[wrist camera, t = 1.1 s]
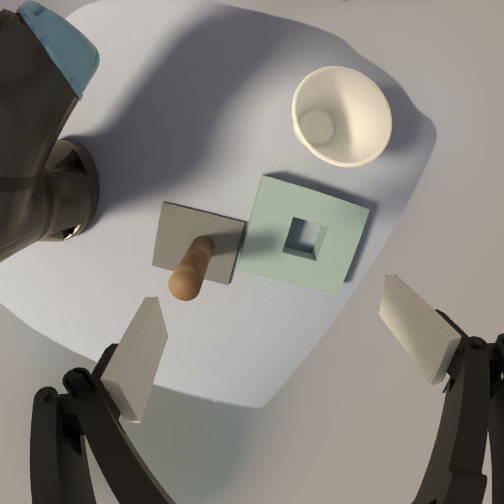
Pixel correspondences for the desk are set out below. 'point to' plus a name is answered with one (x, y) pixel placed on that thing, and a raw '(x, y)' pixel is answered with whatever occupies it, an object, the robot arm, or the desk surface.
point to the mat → (190, 227)
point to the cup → (341, 116)
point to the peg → (191, 269)
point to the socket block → (277, 227)
